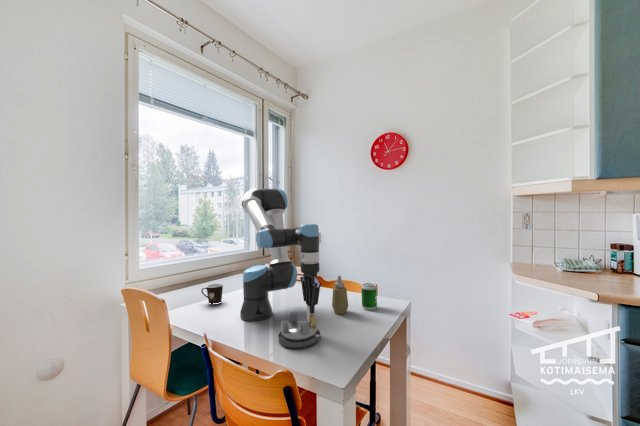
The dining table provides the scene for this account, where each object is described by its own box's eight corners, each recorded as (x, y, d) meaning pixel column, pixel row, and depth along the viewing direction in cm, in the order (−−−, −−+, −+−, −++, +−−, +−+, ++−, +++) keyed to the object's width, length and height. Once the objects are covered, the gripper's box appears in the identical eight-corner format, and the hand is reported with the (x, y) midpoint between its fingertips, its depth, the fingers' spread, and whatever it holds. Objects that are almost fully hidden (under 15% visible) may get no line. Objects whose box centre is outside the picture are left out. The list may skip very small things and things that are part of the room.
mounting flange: (271, 346, 97) (270, 340, 97) (289, 328, 112) (289, 323, 112) (311, 352, 92) (311, 346, 92) (325, 332, 107) (324, 326, 107)
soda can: (374, 312, 127) (373, 287, 127) (359, 309, 131) (358, 285, 131) (379, 307, 134) (378, 283, 134) (365, 304, 138) (364, 282, 138)
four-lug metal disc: (277, 330, 105) (276, 315, 105) (308, 323, 111) (307, 309, 111) (288, 345, 93) (288, 328, 93) (322, 336, 99) (322, 320, 99)
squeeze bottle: (347, 316, 123) (346, 278, 123) (330, 315, 125) (329, 277, 125) (349, 309, 131) (348, 274, 131) (333, 309, 133) (332, 273, 133)
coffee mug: (226, 302, 148) (226, 284, 148) (213, 307, 141) (212, 288, 141) (213, 299, 155) (213, 282, 155) (200, 303, 147) (199, 285, 147)
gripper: (294, 260, 109) (295, 317, 109) (310, 265, 98) (311, 328, 98) (309, 259, 113) (310, 313, 113) (326, 263, 102) (327, 323, 102)
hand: (310, 320), depth 105 cm, fingers closed
